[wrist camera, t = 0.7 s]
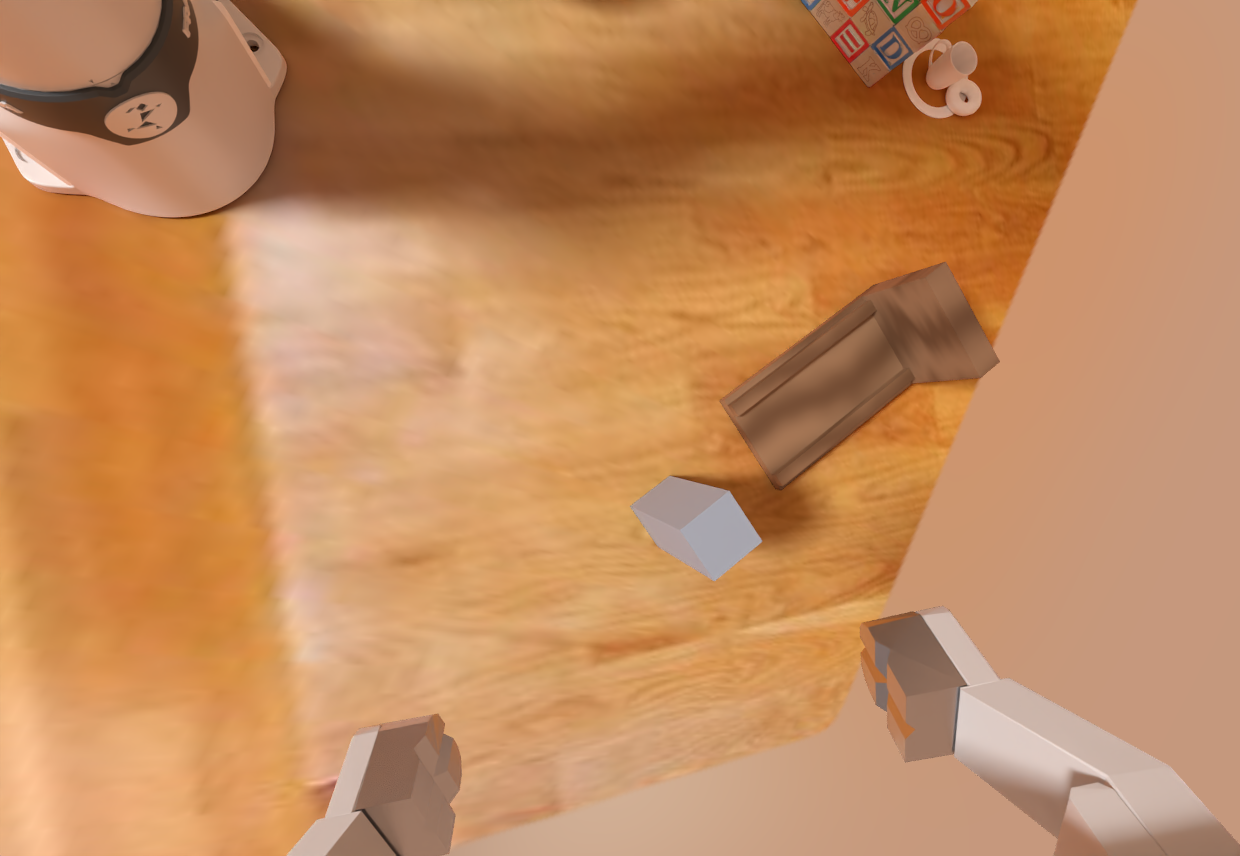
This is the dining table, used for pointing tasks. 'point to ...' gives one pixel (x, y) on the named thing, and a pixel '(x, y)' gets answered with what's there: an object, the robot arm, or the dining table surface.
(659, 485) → the block
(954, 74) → the teacup and saucer
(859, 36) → the stack of blocks
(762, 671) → the dining table surface
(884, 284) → the holder
